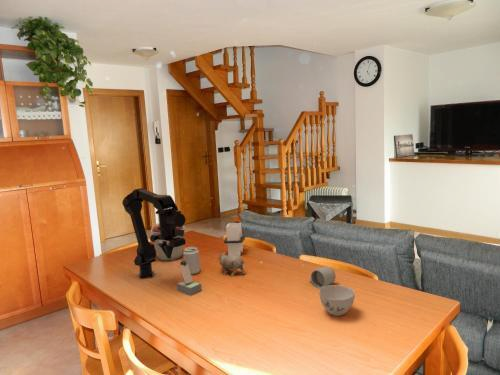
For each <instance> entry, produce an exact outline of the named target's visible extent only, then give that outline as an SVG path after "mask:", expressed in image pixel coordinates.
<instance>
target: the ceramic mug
mask: <svg viewBox="0 0 500 375" xmlns="http://www.w3.org/2000/svg"><path fill="white" fill-rule="evenodd" d="M335 281H336V272H335V271H334V269H333V268H331V267H330V266H324V267H321V268H317V269H314V270H312V271H311V274H310V278H309V282H310V283H312V284H313V286H314V287H315V288H317V289H320V288H322V287H323V286H327V285H332V284H333V283H335Z"/></svg>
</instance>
